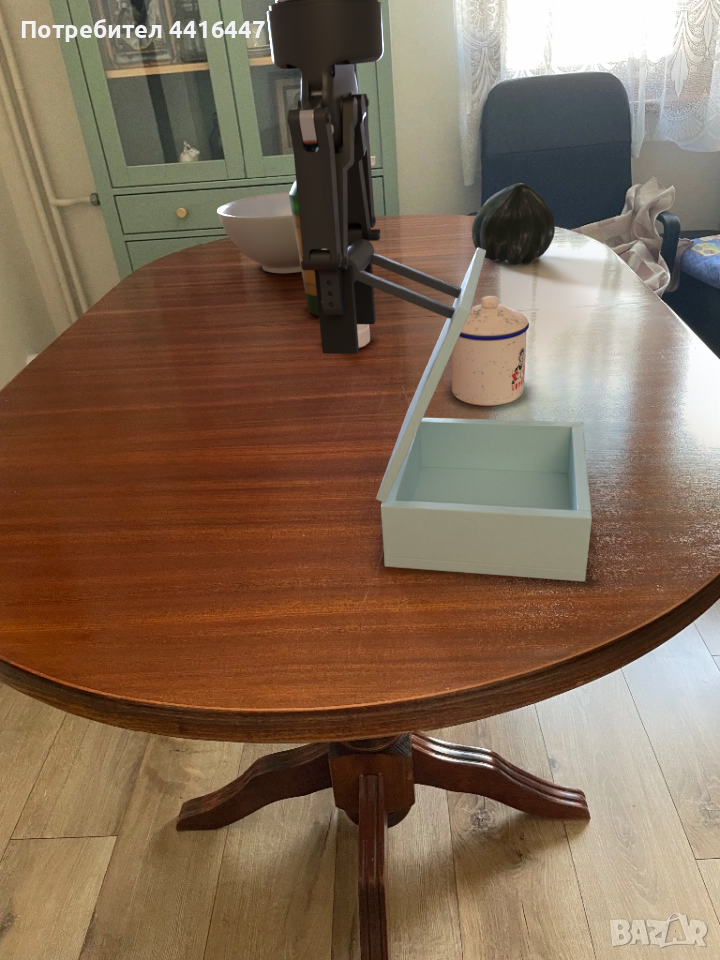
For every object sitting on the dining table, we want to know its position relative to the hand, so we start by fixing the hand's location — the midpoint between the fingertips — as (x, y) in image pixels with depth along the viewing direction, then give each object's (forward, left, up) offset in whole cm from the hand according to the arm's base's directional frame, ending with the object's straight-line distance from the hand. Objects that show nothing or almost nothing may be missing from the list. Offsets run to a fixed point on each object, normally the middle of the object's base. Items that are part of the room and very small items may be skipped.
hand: (350, 336), depth 59 cm
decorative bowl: (+34, -88, -17) cm, 96 cm away
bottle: (+18, -59, -17) cm, 64 cm away
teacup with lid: (-9, -29, -17) cm, 35 cm away
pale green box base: (-11, 0, -17) cm, 21 cm away
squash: (-10, -89, -17) cm, 91 cm away
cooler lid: (-7, 0, -3) cm, 8 cm away
